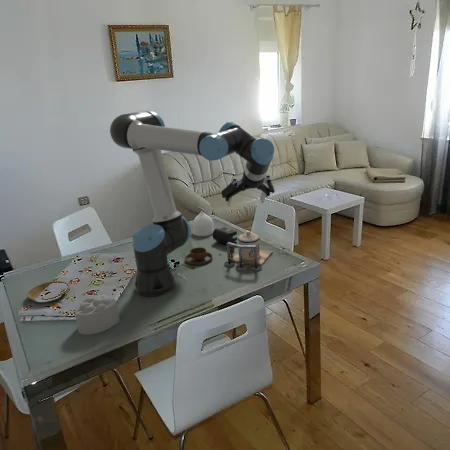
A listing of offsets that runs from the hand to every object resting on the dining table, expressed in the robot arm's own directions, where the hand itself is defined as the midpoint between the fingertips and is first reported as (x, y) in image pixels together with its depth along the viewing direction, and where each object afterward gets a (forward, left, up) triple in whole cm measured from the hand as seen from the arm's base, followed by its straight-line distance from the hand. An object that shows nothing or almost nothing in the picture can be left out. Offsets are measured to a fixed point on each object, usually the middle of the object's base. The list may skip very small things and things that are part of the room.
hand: (244, 201), depth 164 cm
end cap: (+19, +20, -28) cm, 39 cm away
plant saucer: (-48, +62, -28) cm, 83 cm away
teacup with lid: (+8, +1, -27) cm, 28 cm away
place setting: (-2, +19, -28) cm, 34 cm away
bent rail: (-3, +2, -27) cm, 28 cm away
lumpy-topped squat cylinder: (-57, +30, -28) cm, 70 cm away
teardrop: (+29, +37, -28) cm, 54 cm away
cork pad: (+8, +2, -27) cm, 28 cm away
